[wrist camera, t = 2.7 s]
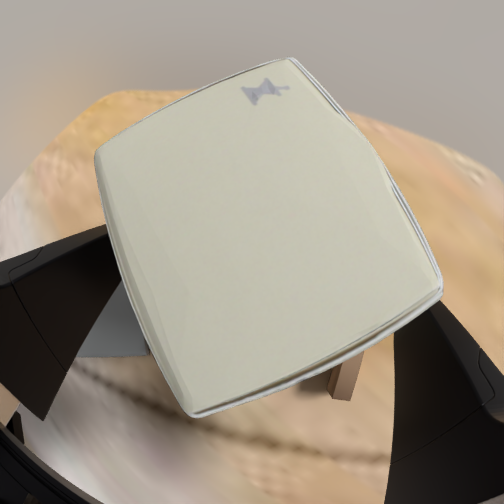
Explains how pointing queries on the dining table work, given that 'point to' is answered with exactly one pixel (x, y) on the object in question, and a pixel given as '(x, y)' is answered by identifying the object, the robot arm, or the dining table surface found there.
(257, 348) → the box
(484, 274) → the dining table surface
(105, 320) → the coaster
